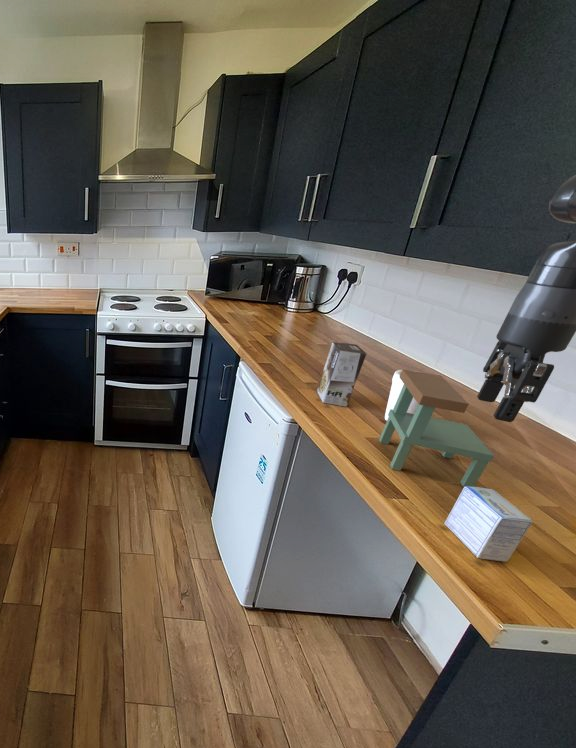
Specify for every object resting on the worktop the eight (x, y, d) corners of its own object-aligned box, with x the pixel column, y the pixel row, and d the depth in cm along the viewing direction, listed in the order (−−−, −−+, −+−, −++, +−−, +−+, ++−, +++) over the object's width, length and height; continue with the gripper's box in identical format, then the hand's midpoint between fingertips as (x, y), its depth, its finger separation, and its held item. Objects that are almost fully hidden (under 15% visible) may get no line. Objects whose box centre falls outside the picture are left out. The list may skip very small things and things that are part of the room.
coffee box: (347, 407, 113) (367, 353, 107) (322, 403, 115) (340, 350, 108) (339, 394, 121) (357, 344, 114) (315, 390, 123) (332, 340, 116)
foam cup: (423, 434, 100) (445, 387, 95) (378, 423, 105) (397, 378, 100) (418, 419, 108) (438, 375, 102) (376, 410, 112) (394, 367, 107)
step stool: (449, 453, 93) (485, 382, 86) (476, 492, 80) (522, 413, 72) (374, 436, 99) (402, 369, 91) (388, 471, 86) (422, 395, 78)
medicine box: (507, 563, 63) (536, 521, 60) (476, 559, 64) (502, 517, 61) (470, 527, 71) (494, 488, 67) (442, 523, 71) (464, 484, 68)
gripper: (606, 330, 53) (542, 434, 60) (557, 310, 65) (507, 400, 71) (529, 321, 57) (476, 420, 63) (494, 303, 68) (453, 389, 75)
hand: (493, 409), depth 67 cm, fingers open, 8 cm apart
